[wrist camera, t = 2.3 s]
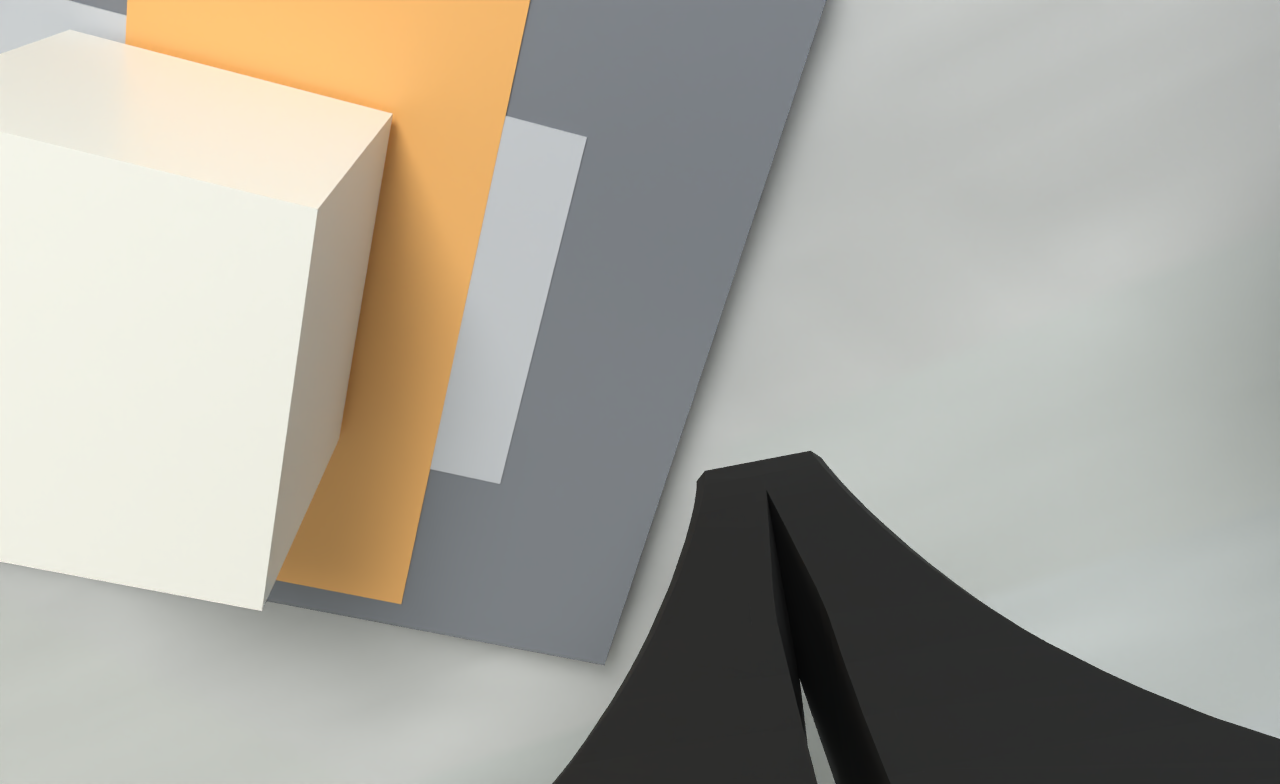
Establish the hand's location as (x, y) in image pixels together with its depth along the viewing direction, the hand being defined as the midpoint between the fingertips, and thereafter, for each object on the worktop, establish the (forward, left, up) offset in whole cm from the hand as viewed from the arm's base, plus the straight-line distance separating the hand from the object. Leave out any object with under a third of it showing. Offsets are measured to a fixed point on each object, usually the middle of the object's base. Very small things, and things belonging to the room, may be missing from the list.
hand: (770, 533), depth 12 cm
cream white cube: (+7, 0, -4) cm, 8 cm away
